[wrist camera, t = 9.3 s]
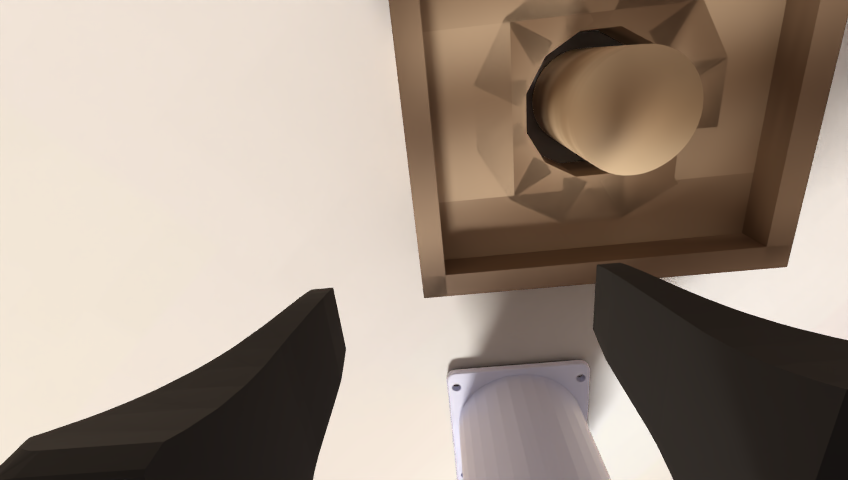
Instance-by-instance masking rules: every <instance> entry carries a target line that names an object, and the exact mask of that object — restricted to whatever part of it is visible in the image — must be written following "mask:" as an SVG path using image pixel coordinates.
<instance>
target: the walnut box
mask: <svg viewBox="0 0 848 480" xmlns="http://www.w3.org/2000/svg"><path fill="white" fill-rule="evenodd" d="M389 8H390V16H391V24H392V33H393V41H394V50H395V58H396V66H397V75H398V83H399V91H400V100H401V108H402V117H403V125H404V133H405V142H406V150H407V158H408V167H409V175H410V184H411V192H412V200H413V209H414V217H415V225H416V234H417V242H418V251H419V259H420V267H421V276H422V284H423V292H424V298H431V297H442V296H454V295H465V294H477V293H489V292H500V291H512V290H524V289H535V288H547V287H558V286H570V285H582V284H593V283H596V268H597V265H598V264H609V263H623V264H626V265H629V266H632V267H634V268H636V269H639V270H641V271H644V272H646V273H648V274H650V275H653V276H655V277H657V278H663V277H675V276H686V275H698V274H710V273H721V272H733V271H745V270H756V269H768V268H779V267H787V265H788V261H789V256H790V252H791V248H792V244H793V240H794V236H795V232H796V228H797V224H798V219H799V215H800V211H801V207H802V203H803V199H804V195H805V191H806V186H807V182H808V178H809V174H810V170H811V166H812V162H813V158H814V154H815V149H816V145H817V141H818V137H819V133H820V129H821V125H822V121H823V116H824V112H825V108H826V104H827V100H828V96H829V92H830V88H831V83H832V79H833V75H834V71H835V67H836V63H837V59H838V55H839V51H840V46H841V42H842V38H843V34H844V30H845V26H846V22H847V18H848V0H389ZM593 30H598V31H600V32H602V33H604V34H606V35H607V36H609V37H611V38H613V39H615V40H617V41H619V42H621V43H623V44H624V45H637V44H660V45H665V46H668V47H671V48H673V49H676V50H678V51H679V52H681V53H682V54H684V55H685V56H686V57H687V58H688V59H689V60H690V61H691V62H692V64H693V65H694V66H695V68H696V70H697V71H698V73H699V76H700V79H701V82H702V87H703V97H704V100H703V109H702V114H701V118H700V120H699V123H698V126H697V128H696V130H695V132H694V134H693V136H692V137H691V139H690V140H689V142H688V143H687V144H686V146H685V147H684V148H683V149H682V150H681V151H680V152H679V153H678V154H677V155H676V156H675V157H674V158H672V159H671V160H670V161H668V162H667V163H665V164H664V165H662V166H660V167H658V168H657V169H654V170H652V171H649V172H646V173H642V174H637V175H616V174H612V173H608V172H606V171H603V170H601V169H599V168H598V167H596V166H594V165H593V164H591V163H590V162H588V161H578V162H568V163H558V162H555V161H553V160H551V159H549V158H547V157H545V156H543V155H540V153H539V152H538V150H537V149H536V147H535V145H534V144H533V142H532V141H531V139H530V137H529V136H528V134H527V122H526V93H527V91H528V90H529V88H530V86H531V84H532V82H533V80H534V78H535V76H536V74H537V72H538V70H539V68H540V66H541V64H542V62H543V60H544V58H545V56H547V55H548V54H549V53H551V52H552V51H553V50H555V49H556V48H558V47H559V46H560V45H562V44H563V43H564V42H566V41H567V40H569V39H570V38H571V37H573V36H574V35H575V34H577V33H578V32H584V31H593Z"/></svg>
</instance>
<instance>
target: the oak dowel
mask: <svg viewBox="0 0 848 480" xmlns="http://www.w3.org/2000/svg"><path fill="white" fill-rule="evenodd" d="M703 100H704V97H703V87H702V82H701V79H700V76H699V73H698V71H697V70H696V68H695V66H694V65H693V64H692V62H691V61H690V60H689V59H688V58H687V57H686V56H685V55H684V54H682V53H681V52H679V51H678V50H676V49H673V48H671V47H668V46H665V45H660V44H637V45H622V46H607V47H592V48H579V49H573V50H570V51H567V52H565V53H562V54H561V55H559V56H557V57H556V58H554V59H553V60H552V61H551V62H550V63H549V64H548V65H547V66H546V67H545V68H544V69H543V71H542V72H541V74H540V75H539V77H538V79H537V81H536V84H535V87H534V90H533V96H532V108H533V113H534V116H535V119H536V121H537V123H538V125H539V126H540V128H541V129H542V130H543V131H544V132H545V133H546V134H547V135H548V136H550V137H551V138H553V139H554V140H556V141H557V142H559V143H560V144H562V145H563V146H565V147H567V148H568V149H570V150H571V151H573V152H574V153H576V154H577V155H579V156H580V157H582V158H584V159H585V160H587V161H588V162H590V163H591V164H593V165H594V166H596V167H598V168H599V169H601V170H603V171H606V172H608V173H612V174H616V175H637V174H642V173H646V172H649V171H652V170H654V169H657V168H658V167H660V166H662V165H664V164H665V163H667V162H668V161H670V160H671V159H672V158H674V157H675V156H676V155H677V154H678V153H679V152H680V151H681V150H682V149H683V148H684V147H685V146H686V144H687V143H688V142H689V140H690V139H691V137H692V136H693V134H694V132H695V130H696V128H697V126H698V123H699V120H700V118H701V114H702V109H703Z"/></svg>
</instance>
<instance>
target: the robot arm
mask: <svg viewBox="0 0 848 480" xmlns="http://www.w3.org/2000/svg"><path fill="white" fill-rule="evenodd" d="M593 330H594V332H595V335H596V337H597V340H598V342H599V345H600V347H601V349H602V351H603V354H604V356H605V358H606V360H607V362H608V364H609V365H610V367H611V369H612V371H613V372H614V374H615V376H616V377H617V379H618V381H619V382H620V384H621V386H622V387H623V389H624V390H625V392H626V394H627V395H628V397H629V399H630V400H631V402H632V404H633V405H634V407H635V408H636V410H637V412H638V413H639V415H640V417H641V418H642V420H643V422H644V423H645V425H646V426H647V428H648V430H649V432H650V433H651V435H652V437H653V439H654V441H655V442H656V444H657V446H658V448H659V450H660V452H661V454H662V456H663V458H664V461H665V463H666V465H667V467H668V469H669V471H670V473H671V475H672V477H673V480H848V340H844V339H839V338H835V337H830V336H826V335H822V334H818V333H814V332H810V331H806V330H802V329H798V328H794V327H790V326H787V325H783V324H779V323H776V322H773V321H770V320H766V319H763V318H760V317H757V316H753V315H750V314H747V313H744V312H741V311H738V310H735V309H732V308H730V307H727V306H724V305H722V304H719V303H717V302H714V301H711V300H709V299H706V298H704V297H701V296H699V295H696V294H694V293H691V292H689V291H687V290H684V289H682V288H680V287H677V286H675V285H673V284H671V283H668V282H666V281H664V280H662V279H659V278H657V277H655V276H653V275H650V274H648V273H646V272H644V271H641V270H639V269H636V268H634V267H632V266H629V265H626V264H623V263H609V264H598V265H597V268H596V286H595V304H594V323H593ZM345 352H346V347H345V342H344V337H343V333H342V328H341V323H340V318H339V314H338V309H337V304H336V299H335V295H334V290H333V288H325V289H314V290H310V291H309V292H307V293H306V294H304V295H303V296H301V297H300V298H299V299H297V300H296V301H295V302H294V303H292V304H291V305H290V306H288V307H287V308H286V309H285V310H283V311H282V312H281V313H280V314H278V315H277V316H276V317H274V318H273V319H272V320H271V321H269V322H268V323H267V324H265V325H264V326H263V327H261V328H260V329H258V330H257V331H256V332H254V333H253V334H251V335H250V336H249V337H247V338H246V339H244V340H243V341H242V342H240V343H239V344H237V345H236V346H234V347H233V348H231V349H230V350H228V351H227V352H225V353H224V354H222V355H220V356H219V357H217V358H215V359H214V360H212V361H210V362H209V363H207V364H205V365H203V366H202V367H200V368H198V369H196V370H195V371H193V372H191V373H189V374H187V375H185V376H183V377H181V378H179V379H177V380H175V381H173V382H171V383H169V384H167V385H165V386H163V387H161V388H159V389H157V390H155V391H152V392H150V393H148V394H146V395H143V396H141V397H139V398H137V399H134V400H132V401H130V402H127V403H125V404H122V405H120V406H117V407H115V408H112V409H110V410H107V411H105V412H102V413H100V414H97V415H94V416H92V417H89V418H86V419H83V420H80V421H77V422H74V423H71V424H69V425H66V426H63V427H60V428H57V429H54V430H51V431H48V432H45V433H42V434H39V435H36V436H33V437H30V438H29V439H27V440H26V441H25V442H24V443H23V444H22V445H21V446H20V447H19V448H18V449H17V450H16V451H15V452H14V453H13V454H12V455H11V456H10V457H9V458H8V459H7V460H6V461H5V462H4V463H3V464H1V465H0V480H313V476H314V471H315V467H316V463H317V459H318V455H319V452H320V449H321V445H322V442H323V439H324V435H325V432H326V429H327V426H328V422H329V419H330V416H331V413H332V409H333V406H334V403H335V399H336V396H337V393H338V389H339V386H340V382H341V378H342V372H343V366H344V359H345ZM578 375H582V376H581V377H577V376H578ZM589 382H590V367H589V365H588V363H587V362H586V361H584V360H572V361H559V362H546V363H534V364H521V365H508V366H495V367H482V368H469V369H456V370H452V371H450V372H449V373H448V374H447V384H448V394H449V403H450V413H451V422H452V432H453V441H454V451H455V460H456V470H457V480H611V479H610V476H609V474H608V472H607V469H606V467H605V465H604V462H603V460H602V458H601V455H600V453H599V451H598V449H597V446H596V444H595V442H594V439H593V437H592V435H591V432H590V430H589V428H588V425H587V419H588V401H589ZM455 384H459V386H457V387H456V386H453V385H455Z"/></svg>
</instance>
